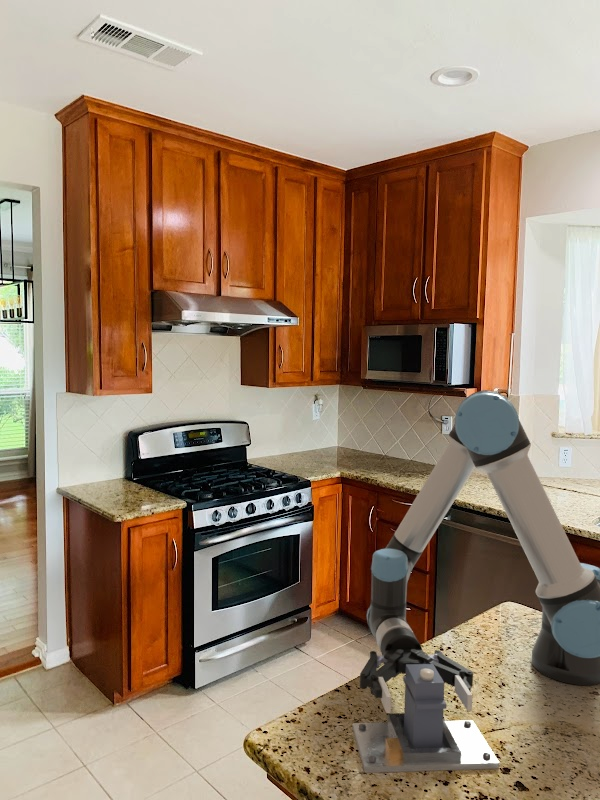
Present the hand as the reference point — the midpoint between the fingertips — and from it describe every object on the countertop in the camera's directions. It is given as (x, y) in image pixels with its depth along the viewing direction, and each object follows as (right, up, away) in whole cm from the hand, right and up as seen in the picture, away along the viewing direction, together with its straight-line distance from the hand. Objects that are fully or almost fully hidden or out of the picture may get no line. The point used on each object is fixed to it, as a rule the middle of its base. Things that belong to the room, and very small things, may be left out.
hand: (429, 704), depth 102 cm
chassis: (0, -9, +4) cm, 10 cm away
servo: (0, -8, +4) cm, 9 cm away
